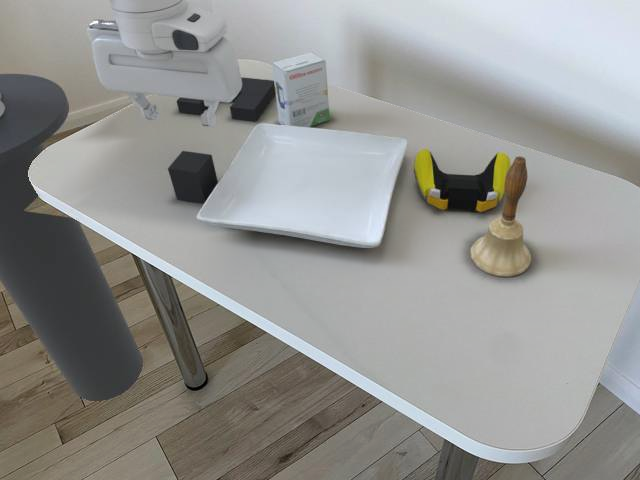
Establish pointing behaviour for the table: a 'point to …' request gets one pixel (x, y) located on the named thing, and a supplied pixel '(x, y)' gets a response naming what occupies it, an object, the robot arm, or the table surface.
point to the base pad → (238, 100)
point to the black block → (193, 176)
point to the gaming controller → (461, 184)
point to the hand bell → (505, 232)
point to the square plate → (309, 185)
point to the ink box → (301, 90)
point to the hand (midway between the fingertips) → (180, 121)
